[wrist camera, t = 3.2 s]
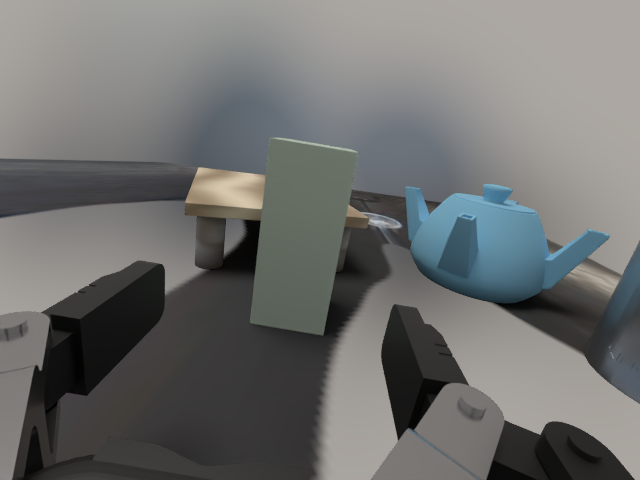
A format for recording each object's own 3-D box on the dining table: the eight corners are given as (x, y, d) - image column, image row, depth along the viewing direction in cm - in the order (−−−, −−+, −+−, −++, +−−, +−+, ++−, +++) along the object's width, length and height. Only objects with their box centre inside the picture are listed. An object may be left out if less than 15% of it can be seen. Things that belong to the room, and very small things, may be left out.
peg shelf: (306, 219, 49) (311, 181, 47) (356, 275, 31) (369, 218, 30) (196, 210, 44) (198, 167, 42) (183, 272, 26) (185, 202, 24)
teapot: (584, 323, 30) (638, 214, 26) (434, 306, 28) (472, 186, 25) (491, 261, 44) (518, 185, 41) (388, 247, 42) (408, 167, 39)
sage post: (325, 299, 26) (353, 149, 22) (323, 335, 21) (358, 153, 17) (265, 289, 26) (283, 138, 22) (249, 323, 21) (269, 137, 17)
